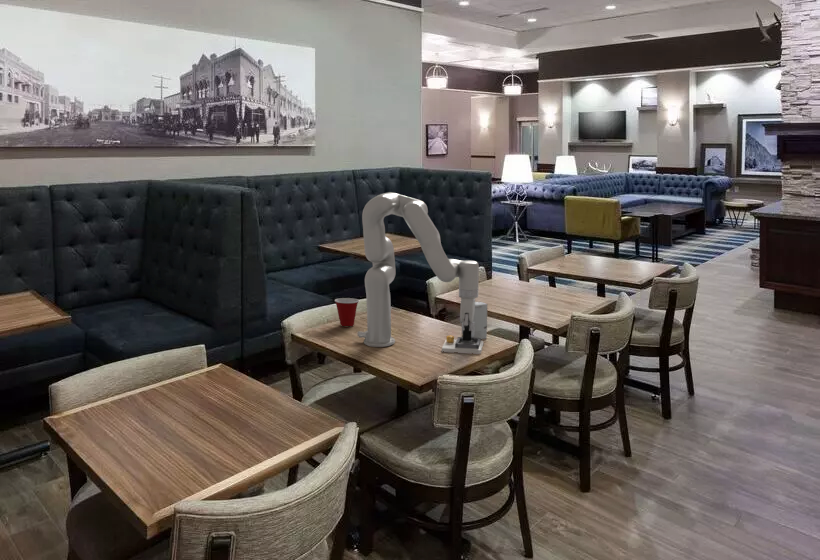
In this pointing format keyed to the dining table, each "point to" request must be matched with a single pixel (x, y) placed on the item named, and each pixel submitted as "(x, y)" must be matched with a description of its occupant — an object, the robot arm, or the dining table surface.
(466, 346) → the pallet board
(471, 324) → the block
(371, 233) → the robot arm
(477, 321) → the skincare box
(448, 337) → the button
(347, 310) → the plastic cup
